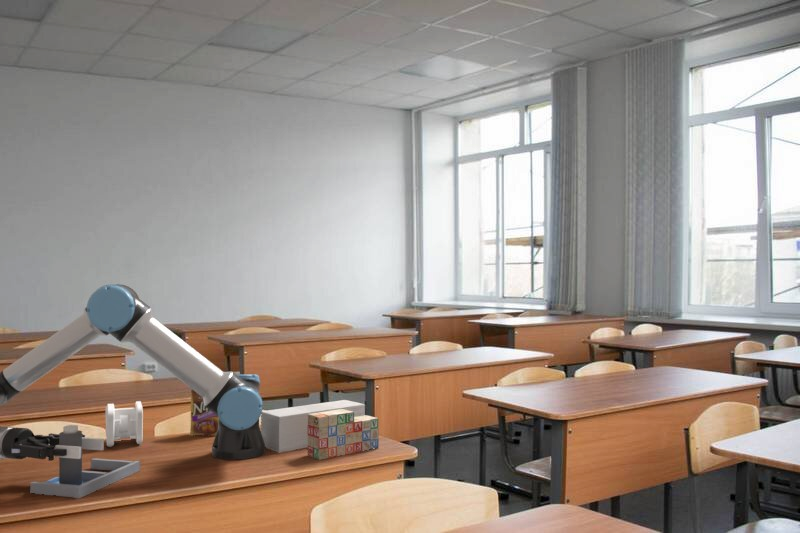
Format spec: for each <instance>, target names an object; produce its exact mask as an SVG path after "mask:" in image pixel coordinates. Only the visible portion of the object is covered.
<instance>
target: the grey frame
mask: <svg viewBox="0 0 800 533" xmlns="http://www.w3.org/2000/svg"><path fill="white" fill-rule="evenodd" d="M90 469H91V470H82V484H81V485H79V486H78V485H70V484H59V475H58V476H56V477H52V478H50V479H48V480H45V481H35V480H34V481H32V482H30V483H29V484H30V488H29V490H30V492H29V493H30V494H31V493H35V494H34V495H42V494H44V495H43V496H53V495H56V496H55V497H65V498H66V497H68V498H74V499H81V498H83V497H86V496H87V495H90V494H92V493H94V492H96V490H97V491H98V490H100V489H103V488H106V487H107V486H110V485H111V484H114V483H116V482H118V481H121V480H122V479H125V478H126V477H129V476H132V475H133V474H136V473H139V472H140V471H141V461H140V460H135V461H134V460H120V459H109V458H91V459H90ZM92 470H93V471H92ZM94 470H102V471H94ZM103 470H104V472H103ZM106 471H109V472H106ZM109 484H110V485H109Z"/></svg>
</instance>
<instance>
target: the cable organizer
mask: <svg viewBox="0 0 800 533" xmlns="http://www.w3.org/2000/svg"><path fill="white" fill-rule="evenodd" d="M134 406H135V407H123V408H115V404H114V403H107V405H106V406H105V413H104V414H105V418H104V419H105V438H106V441H105V442H106V447H108V448H112V447H113V446H115V441H121V440H123V439H129V440H130V441H131V440H133V439H134V440H135V442H136V444H137V445H138V444H139V445H141V444H142V443H143V438H144V437H143V435H144V434H143V430H144V428H143V426H144V425H143V424H144V421H143V420H144V412H143V411H144V408H143V404H142V401H141V400H138V401H137V400H136V401H135V404H134Z"/></svg>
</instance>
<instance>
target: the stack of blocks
mask: <svg viewBox="0 0 800 533" xmlns="http://www.w3.org/2000/svg"><path fill="white" fill-rule="evenodd" d="M379 430H380V429H379V418H378V417H374V416H371V415H366V414H365V416H357V417H354V412H353V411H349V410H345V409H338V410H331V411H325V412H318V413H311V414H308V431H307V432H308V447H307V456H308V457H311V458H314V459H317V460H325V459H330V457H331V458H335V457H334V456H336V457H340V455H342V456H345V454H346V455H350V454H349V453H352V454H355V453H354V452H357V453H359V452H358V451H361V452H364V451H363V450H367V451H370V450H369V449H373V448H378V449H379V439H380V438H379V433H380V432H379ZM373 450H374V449H373Z"/></svg>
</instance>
